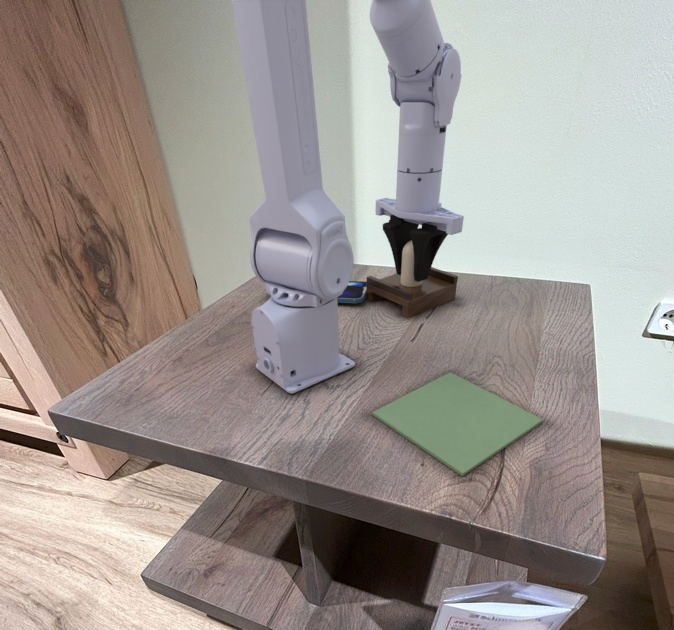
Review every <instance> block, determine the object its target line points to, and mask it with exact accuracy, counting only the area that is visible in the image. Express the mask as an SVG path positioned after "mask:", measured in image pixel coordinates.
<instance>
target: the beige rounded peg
mask: <svg viewBox="0 0 674 630" xmlns="http://www.w3.org/2000/svg"><path fill="white" fill-rule="evenodd" d="M401 284H402V285H403V286H407V287H417V286H420V285H421V284H422V281H420V282H417V281H415V280H414V250H413V244H412V240H411V241H409V242H407V243H406V244H405V246H404V247H403V251H402V267H401Z"/></svg>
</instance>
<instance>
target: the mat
mask: <svg viewBox="0 0 674 630" xmlns="http://www.w3.org/2000/svg"><path fill="white" fill-rule="evenodd" d="M371 415H372V416H373V417H374V418H376V419H377V420H379V421H380V422H381V423H383V424H384V425H386V426H388V427H389V428H390V429H392V430H393V431H395V432H396V433H397V434H399V435H401V436H402V437H404V438H405V439H407V440H408V441H409V442H411V443H412V444H414V445H415V446H416V447H418V448H420V449H421V450H422V451H424V452H426V453H427V454H428V455H430V456H431V457H433V458H434V459H436V460H437V461H439V462H440V463H442V464H443V465H444V466H446V467H448V468H449V469H451V470H452V471H453V472H455V473H456V474H458V475H459V476H461V477H464V476H465V475H467V474H469V473H470V472H472V471H473V470H475V468H477V467H479V466H481V464H483V463H485V462H486V461H488V460H489V459H490V458H492V457H494V455H496V454H498V453H499V452H501V451H503V450H504V449H505V448H507V447H508V446H510V445H511V444H513V443H514V442H516V441H517V440H518V439H520V438H521V437H523V436H525V435H526V434H527V433H529V432H530V431H532V430H534V429H535V428H536V427H538V426H540V425H541V424H542V423H543V421H544V419H543V418H541V417H539V416H537V415H535V414H533V413H532V412H530V411H528V410H526V409H523V408H521V407H519V405H518V406H517V405H516V404H514V403H512V402H510V401H507V400H506V399H504V398H502V397H500V396H498V395H496V394H495V393H492V392H490V391H488V390H486V389H485V388H483V387H481V386H479V385H477V384H474V383H473V382H471V381H468V379H465V378H464V377H461V376H459V375H458V374H455V373H453V372H451V371H450V372H448V373H446V374H444V375H442V376H440V377H437V378H436V379H433V380H432V381H430V382H429V383H426V384H424V385H422V386H421V387H419V388H416V389H414V390H413V391H411V392H409V393H407V394H405V395H403V396H401V397H399V398H397V399H395V400H393V401H391V402H389V403H387V404H385V405H383V406H381V407H379V408H377V409H376V410H374V411H372V412H371Z"/></svg>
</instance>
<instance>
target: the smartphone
mask: <svg viewBox="0 0 674 630" xmlns="http://www.w3.org/2000/svg"><path fill="white" fill-rule="evenodd" d="M366 290H367V280H350V281H349V283H348V285H347V287H346V288H345V290H344V291H343V294H342V295H340V296H338V297H337V301H338V304H339V303H340V304H355V305H356V304H357V305H358V304H361V303H363V302H364V300H365V299H366ZM268 295H269V298H270V297H271V295H270V294H268Z"/></svg>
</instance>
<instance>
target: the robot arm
mask: <svg viewBox="0 0 674 630" xmlns="http://www.w3.org/2000/svg"><path fill="white" fill-rule="evenodd" d="M231 5H232V11H233V18H234V22H235V28H236V35H237V40H238V45H239V52H240V57H241V62H242V68H243V69H242V70H243V74H244V80H245V86H246V93H247V99H248V103H249V110H250V115H251V120H252V127H253V134H254V138H255V144H256V150H257V156H258V161H259V167H260V171H261V172H260V173H261V179H262V184H263V190H264V197H265V198H264V199H263V200H262V201H261V202H260V204H259V205H258V206H256V207H255V209H254V210H253V211H252V213H251V215H250V216H249V217H248V221H249V226H250V232H251V234H250V235H251V237H250V239H251V240H250V247H249V258H250V259H249V260H250V261H249V262H250V265H251V268H252V271H253V273H254V275H255V276H256V278H257V279H259V281H260V282H263V283H264V287H265V292H266V294H268V295H269V294H270V295H271V297H270V295H269V298H268V300H267V301H265V302H264V303H263V304H261V305H259V306H258V307H255V308H254V309H253V310H252V312H251V315H250V326H251V331H252V337H253V342H254V348H255V349H254V350H255V354H256V360H257V363H256V364H255V368H256V369H257V370H258V371H259V372H261V373H262V374H263V375H265V376H266V377H267V378H269V379H270V380H271V381H272V382H274V383H275V384H276V385H278V386H279V387H280V388H282V389H283V390H284V391H285V392H287V393H288V394H295V393H297V392H300V391H302V390H304V389H307V388H308V387H311V386H313V385H317V384H318V383H320V382H323V381H325V380H328V379H329V378H331V377H334V376H336V375H338V374H340V373H343V372H346V371H347V370H350V369H352V368H354V367H355V366H356V362H355V361H354V360H353V359H350V358H349V357H347V356H345V355H344V354H343V353H341V352H340V333H339V332H340V331H339V330H340V329H339V307H338V304H339V303H338V301H337V297H338V296H340V295H342V294H343V291H344V290H345V288H346V287H347V285H348V283H349V281H351V279H352V276H353V272H354V264H355V263H354V262H355V261H354V260H355V258H354V251H353V248H352V244H351V242H350V239H349V238H348V237H349V236H348V235H347V227H346V217H345V214H343V212H342V211H341V209H340V208H339V207H338V206H337V205H336V204H335V202H334V201H333V200H332V199H331V198H330V197H329V196H328V195H327V194H326V192H325V191H324V186H323V185H324V184H323V176H322V164H321V163H322V162H321V154H320V153H321V151H320V143H319V131H318V122H317V110H316V109H317V108H316V99H315V98H316V97H315V87H314V77H313V67H312V56H311V55H312V54H311V44H310V43H311V42H310V35H309V33H310V32H309V22H308V12H307V11H308V10H307V1H306V0H231ZM369 22H370V25H371V27H372V29H373V30H374V33H375V35H376V37H377V39H378V41H379V44H380V46H381V49H382V50H383V52H384V54H385V57H386V59H387V61H388V63H387V72H388V75H389V87H390V95H391V99H392V101H393V102H394V103H395V104H396V106H397V107H399V121H398V122H399V123H398V141H397V142H398V143H397V145H398V147H397V166H396V167H397V169H396V186H395V189H396V190H395V198H388V197H384V198H379V199H376V200H375V215H376V216H379V217H380V216H387V217H389V219H388V222H384V223H382V231H383V233H384V235H385V236H386V238H387V241H388V244H389V246H390V249H391V253H392V257H393V261H394V267H395V273H396V274H398V275H401V267H402V251H403V247H404V246H405V244H406V243H407V242H409V241H411V240H412V244H413V250H414V280H415V281H417V282H420V281H422V280H425V279H427V278H428V275H429V272H430V269H431V267H432V266H433V263H434V261H435V258H436V256H437V254H438V251H439V250H440V248H441V246H442V244H443V243H444V241H445V240H446V238H447V236H448V235H450V236H453V235H456V234H459V233H462V232H463V225H464V218H465V216H464V215H462V214H458V213H456V212H454V211H451V210H449V209H447V208H445V207H443V206H442V202H440V198H441V197H440V196H441V187H442V176H443V167H444V155H445V147H446V139H447V138H446V135H447V126H448V125H450V124H451V122H452V119H453V114H454V113H453V112H454V107H455V102H456V99H457V96H458V93H459V90H460V87H461V81H462V74H461V73H462V64H461V56H460V53H459V52H458V50H457V49H456V48H454V47H453V45H452V44H451V43H449V42H445V41H444V38H443V34H442V31H441V28H440V25H439V22H438V20H437V16H436V13H435V10H434V7H433V3H432V0H371V4H370V9H369ZM419 226H421V227H419Z"/></svg>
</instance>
